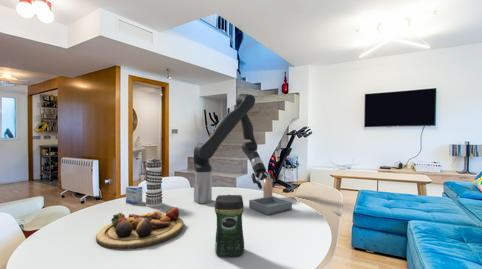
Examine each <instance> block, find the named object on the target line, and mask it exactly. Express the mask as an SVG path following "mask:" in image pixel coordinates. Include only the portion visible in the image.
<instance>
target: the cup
mask: <svg viewBox="0 0 482 269" xmlns="http://www.w3.org/2000/svg"><path fill="white" fill-rule="evenodd" d="M262 181H263V182H262V183H263V185H262V189H263V192H262V193H263V197H268V196H273V188H272V179H270V178H268V177H267V178H265V179H264V180H262ZM263 197H262V198H263Z"/></svg>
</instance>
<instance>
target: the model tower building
mask: <svg viewBox="0 0 482 269" xmlns="http://www.w3.org/2000/svg"><path fill="white" fill-rule="evenodd" d="M162 170H163V168H162V160H161V159H160V158H158V157H157V158H156V157H155V158H149V159H148V160H147V161H146V168H145V170H144V174H145V176H144V177H145V181H146V182H145V184H146V190H145V191H146V192H145V194H146V195H145V206H146V207H152V208H153V207H159V206H161V205H163V197H162V196H163V189H162V188H163V187H162V183H163V178H162V177H163V173H164V171H162Z"/></svg>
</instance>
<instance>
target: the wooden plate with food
mask: <svg viewBox="0 0 482 269" xmlns="http://www.w3.org/2000/svg"><path fill="white" fill-rule="evenodd" d="M179 211H180V210H179V208H178V207H177V206H175V207H172V208H170V209H168V210H167V211H166V212H165V213H163V212H161V211H158V210H154V211H151V212H147V213H143V214H133V213H132V214H128V216H127V217H126V215H125V214H124V213H122V212H118V213H117V214H114V215H113V217H112V218H111V220H110V221H111V223H109V224H106V225H105V226H103V227H102V228H100V229H99V230H98V232H97V233H96V235H95V241H96V243H97V244H98V243H99V244H98V245H99V246H101V245H102V247H104V248H107V247H108V248H107V249H112V248H113V249H114V250H130V249H131V250H132V249H139V248H146V247H149V246H154V245H157V244H160V243H164V242H165V241H168V240H170V239H172V238H174V237H176V235H178V234H179V233H180V232H182V230H183V228H184V226H185V224H184V221H183V218H181V217H180V213H179Z"/></svg>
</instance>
